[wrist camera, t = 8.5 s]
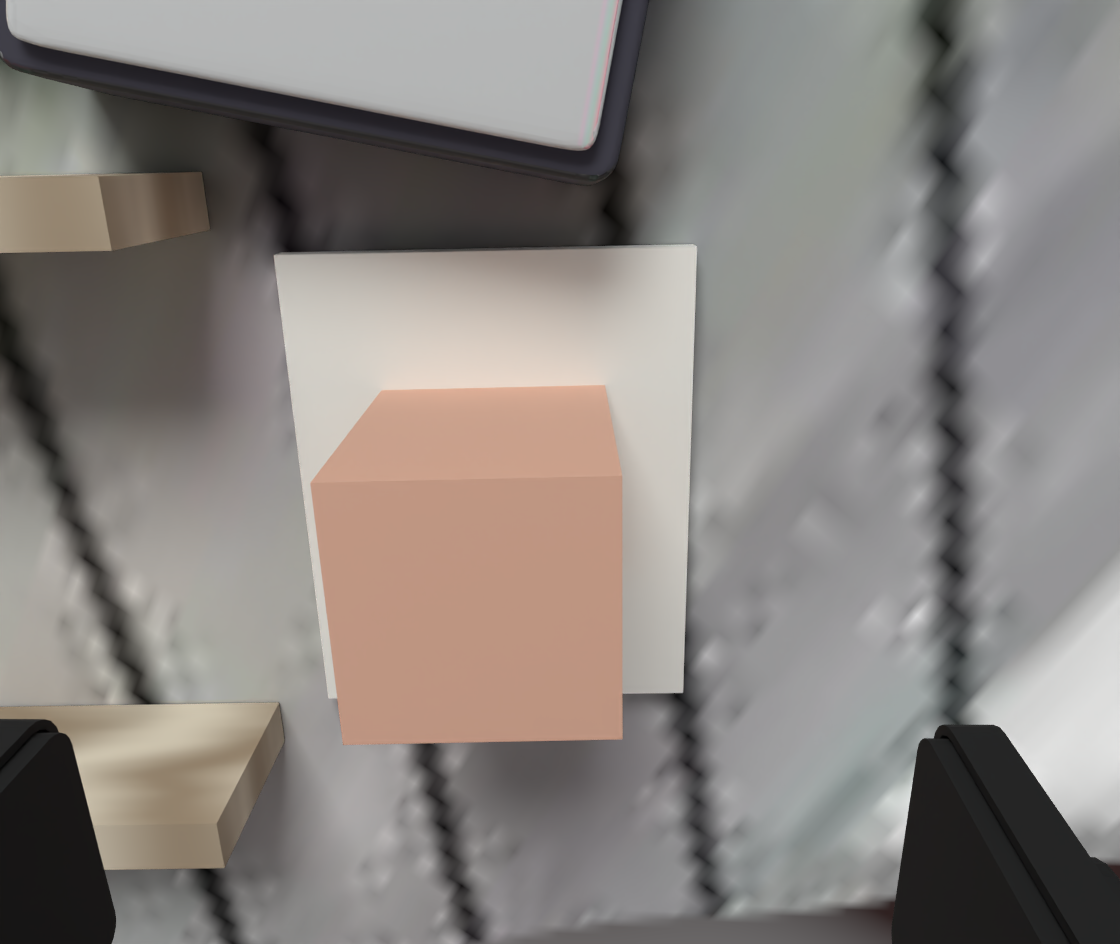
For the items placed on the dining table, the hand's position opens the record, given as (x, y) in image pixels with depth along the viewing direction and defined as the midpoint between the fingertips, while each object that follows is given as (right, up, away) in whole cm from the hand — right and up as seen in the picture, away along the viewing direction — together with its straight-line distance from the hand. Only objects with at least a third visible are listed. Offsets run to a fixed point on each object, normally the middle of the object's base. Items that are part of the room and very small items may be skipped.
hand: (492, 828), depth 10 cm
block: (-1, +4, +11) cm, 11 cm away
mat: (-1, +4, +12) cm, 12 cm away
